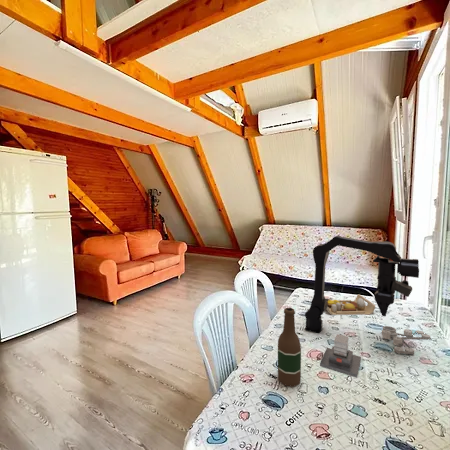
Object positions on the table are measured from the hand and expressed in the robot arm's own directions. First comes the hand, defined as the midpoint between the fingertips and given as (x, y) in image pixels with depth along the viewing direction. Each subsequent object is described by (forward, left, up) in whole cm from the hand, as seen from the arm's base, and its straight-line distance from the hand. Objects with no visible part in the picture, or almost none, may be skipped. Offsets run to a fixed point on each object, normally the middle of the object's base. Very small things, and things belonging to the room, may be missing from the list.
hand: (384, 312), depth 104 cm
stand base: (-13, -20, -15) cm, 28 cm away
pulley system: (+6, +11, -15) cm, 20 cm away
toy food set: (-20, +35, -15) cm, 43 cm away
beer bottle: (-26, -39, -15) cm, 49 cm away
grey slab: (-13, -20, -13) cm, 28 cm away
